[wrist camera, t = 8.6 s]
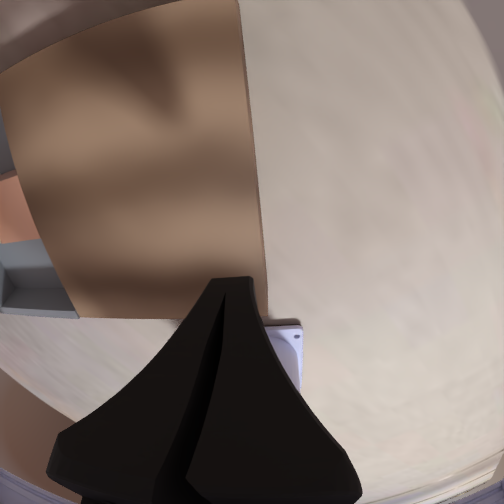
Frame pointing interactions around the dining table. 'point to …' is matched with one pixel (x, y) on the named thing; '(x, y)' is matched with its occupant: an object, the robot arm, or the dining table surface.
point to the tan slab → (141, 159)
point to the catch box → (29, 269)
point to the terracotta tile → (14, 211)
